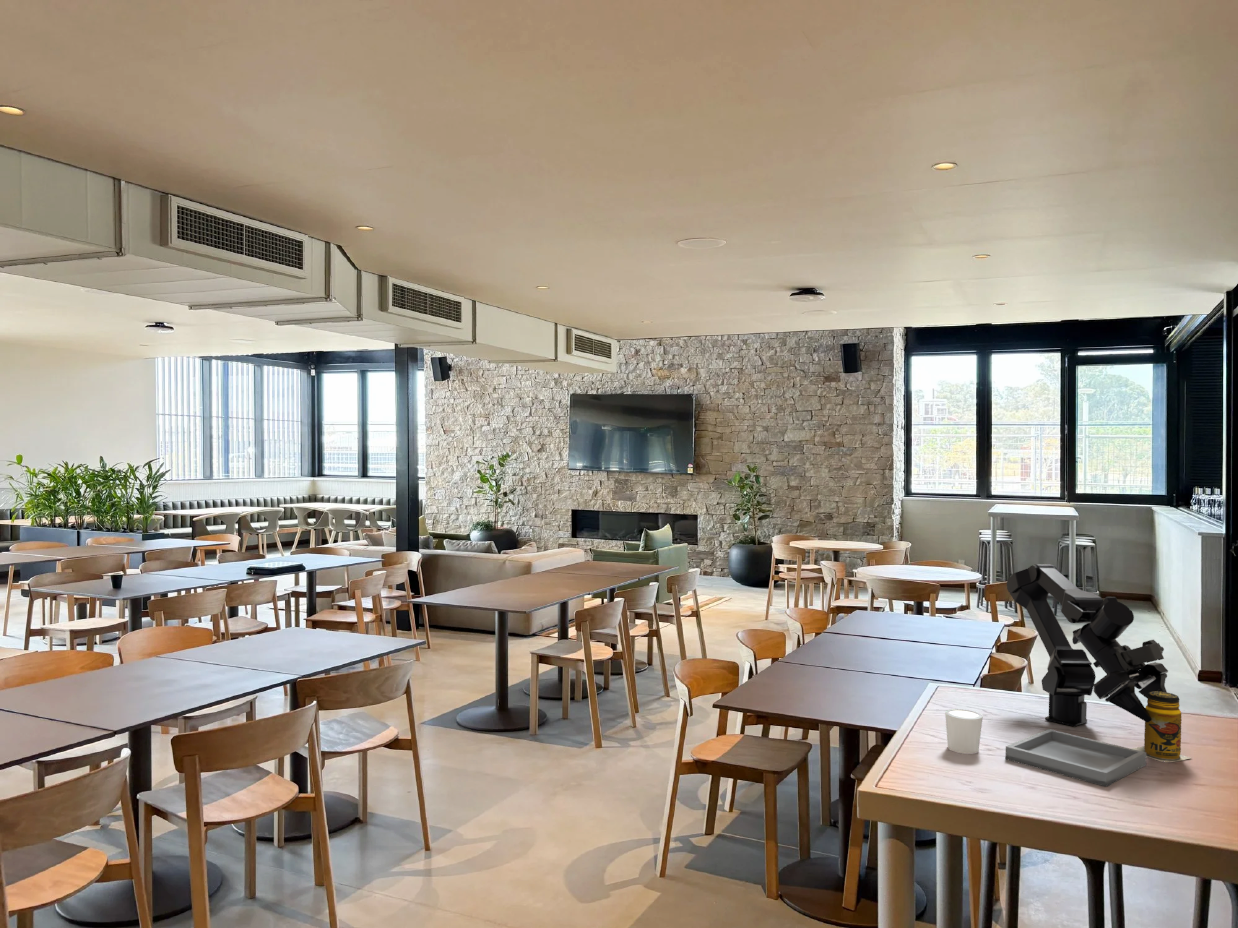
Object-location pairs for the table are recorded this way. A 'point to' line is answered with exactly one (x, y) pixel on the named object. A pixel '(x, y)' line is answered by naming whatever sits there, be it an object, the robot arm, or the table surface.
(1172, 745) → the condiment
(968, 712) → the shot glass
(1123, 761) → the tray
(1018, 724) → the table surface
